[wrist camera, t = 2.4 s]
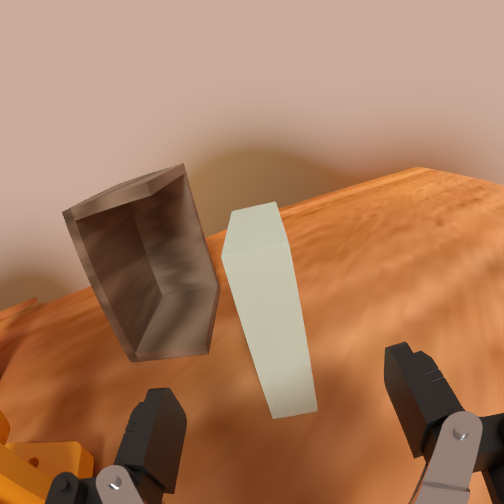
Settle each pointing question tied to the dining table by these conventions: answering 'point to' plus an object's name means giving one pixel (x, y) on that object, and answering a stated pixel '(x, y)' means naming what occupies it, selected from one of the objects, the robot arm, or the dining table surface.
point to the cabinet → (149, 264)
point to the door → (270, 308)
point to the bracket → (37, 467)
